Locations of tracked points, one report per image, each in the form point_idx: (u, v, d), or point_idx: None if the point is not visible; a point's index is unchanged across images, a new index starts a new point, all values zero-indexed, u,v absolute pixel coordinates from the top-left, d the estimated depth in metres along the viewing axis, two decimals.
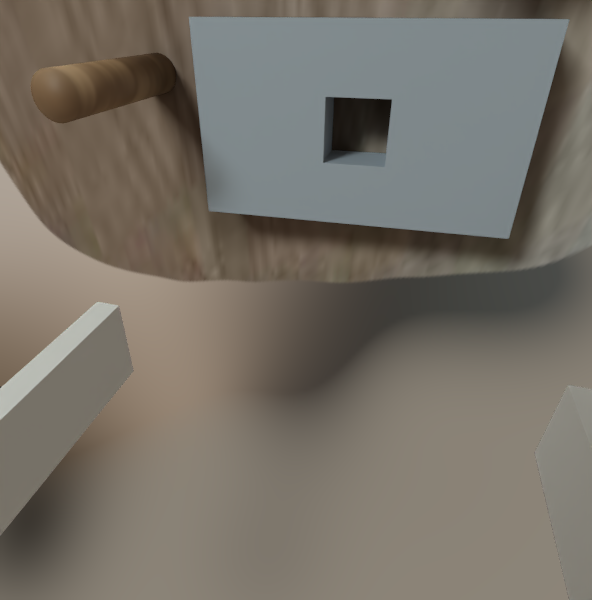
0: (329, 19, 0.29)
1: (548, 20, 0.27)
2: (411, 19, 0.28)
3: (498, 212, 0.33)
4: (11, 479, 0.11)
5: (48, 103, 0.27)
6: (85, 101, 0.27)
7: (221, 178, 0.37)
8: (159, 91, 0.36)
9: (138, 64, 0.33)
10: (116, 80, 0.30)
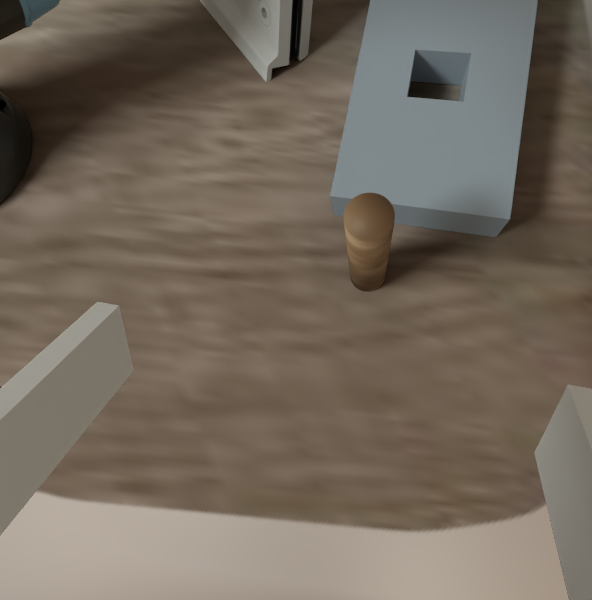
0: (352, 91, 0.39)
1: None
2: (363, 39, 0.40)
3: None
4: (11, 479, 0.11)
5: (374, 225, 0.27)
6: None
7: (472, 197, 0.35)
8: None
9: None
10: None
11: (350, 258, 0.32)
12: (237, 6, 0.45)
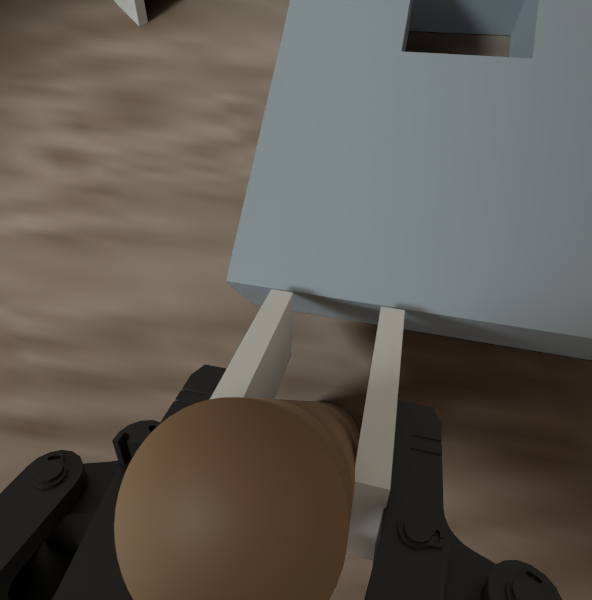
0: (282, 43, 0.18)
1: None
2: None
3: None
4: None
5: (249, 573, 0.05)
6: (285, 407, 0.07)
7: (568, 289, 0.14)
8: (350, 419, 0.16)
9: None
10: None
11: None
12: None
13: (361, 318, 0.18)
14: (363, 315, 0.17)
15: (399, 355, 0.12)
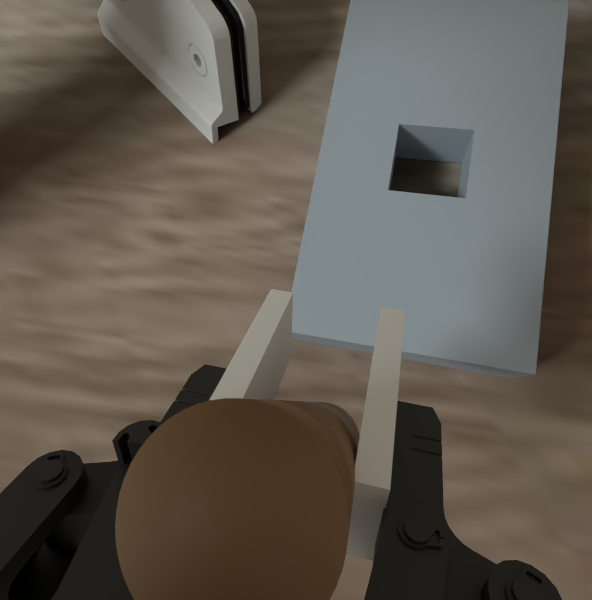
0: (315, 181, 0.29)
1: (349, 8, 0.31)
2: (329, 109, 0.30)
3: (534, 15, 0.29)
4: None
5: (249, 573, 0.05)
6: (286, 408, 0.07)
7: (481, 339, 0.25)
8: (350, 420, 0.16)
9: None
10: None
11: None
12: (165, 54, 0.35)
13: (364, 350, 0.29)
14: (365, 349, 0.28)
15: (399, 355, 0.12)
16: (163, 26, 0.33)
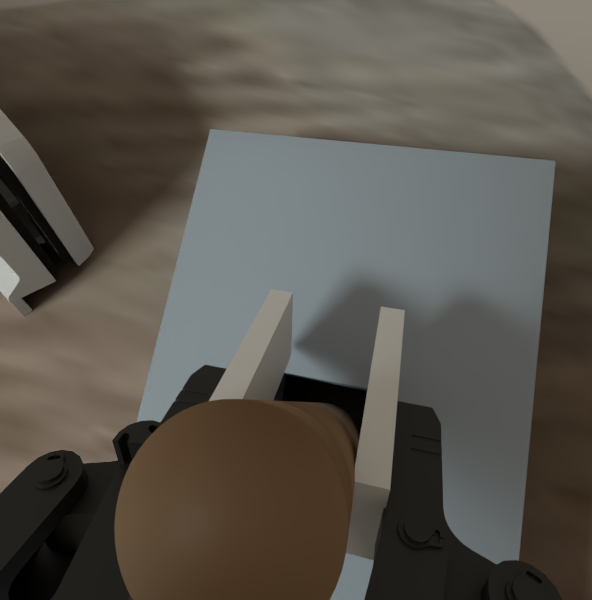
0: None
1: (206, 152, 0.20)
2: (160, 331, 0.18)
3: (497, 183, 0.17)
4: None
5: (249, 574, 0.05)
6: (285, 408, 0.07)
7: None
8: (350, 420, 0.16)
9: None
10: None
11: None
12: None
13: None
14: None
15: (399, 355, 0.12)
16: None
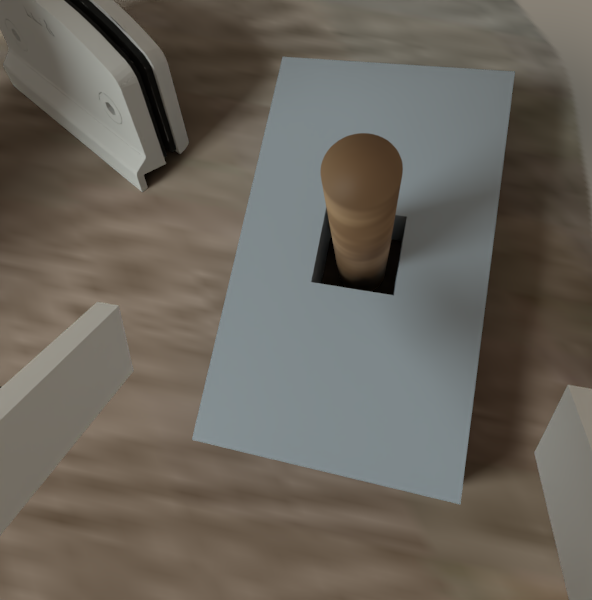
0: (234, 268, 0.26)
1: (280, 72, 0.29)
2: (252, 186, 0.27)
3: (476, 86, 0.26)
4: (11, 479, 0.11)
5: (369, 183, 0.16)
6: None
7: (403, 459, 0.23)
8: None
9: None
10: None
11: (335, 244, 0.22)
12: (78, 103, 0.33)
13: None
14: None
15: None
16: (70, 75, 0.31)
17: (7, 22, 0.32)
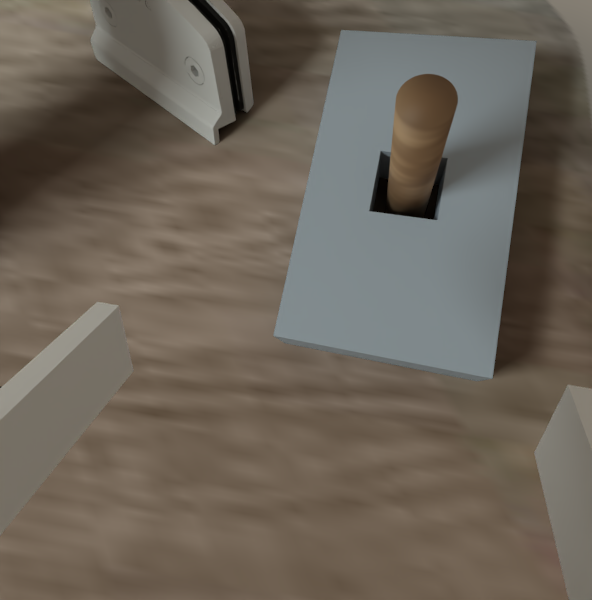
0: (304, 201, 0.32)
1: (339, 42, 0.34)
2: (318, 135, 0.33)
3: (504, 53, 0.32)
4: (11, 479, 0.11)
5: (433, 109, 0.22)
6: None
7: (446, 346, 0.28)
8: None
9: None
10: None
11: (394, 172, 0.28)
12: (160, 70, 0.39)
13: (345, 354, 0.32)
14: (346, 353, 0.32)
15: None
16: (158, 44, 0.36)
17: (102, 1, 0.38)
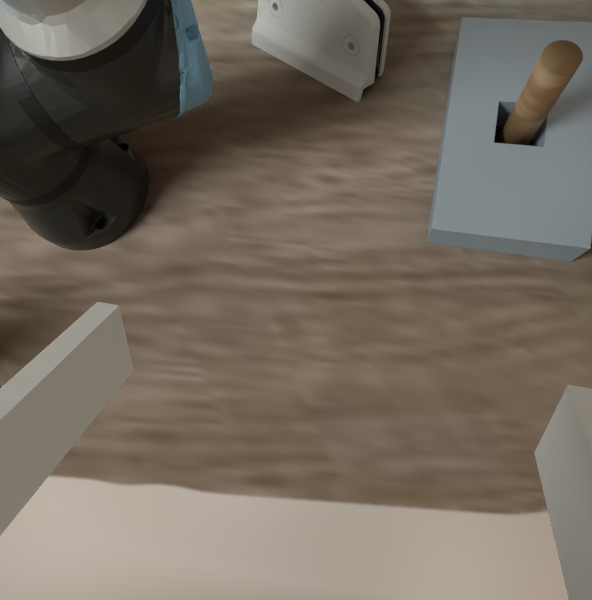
0: (445, 137, 0.45)
1: (461, 26, 0.48)
2: (451, 92, 0.46)
3: (584, 31, 0.45)
4: (11, 479, 0.11)
5: (567, 62, 0.35)
6: None
7: (557, 229, 0.42)
8: None
9: None
10: None
11: (521, 111, 0.41)
12: (315, 48, 0.52)
13: (475, 246, 0.46)
14: (478, 243, 0.45)
15: None
16: (320, 28, 0.50)
17: None
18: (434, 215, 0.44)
